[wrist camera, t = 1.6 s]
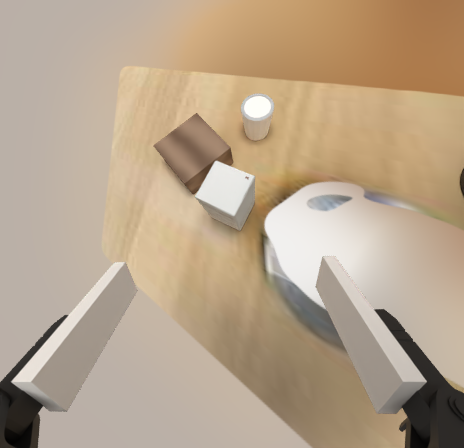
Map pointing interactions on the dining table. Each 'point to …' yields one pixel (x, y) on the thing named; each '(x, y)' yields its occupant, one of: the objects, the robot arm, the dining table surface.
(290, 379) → the dining table surface
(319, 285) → the robot arm
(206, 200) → the supplement box
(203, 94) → the dining table surface
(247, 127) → the white cylinder
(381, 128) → the dining table surface
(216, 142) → the walnut block
